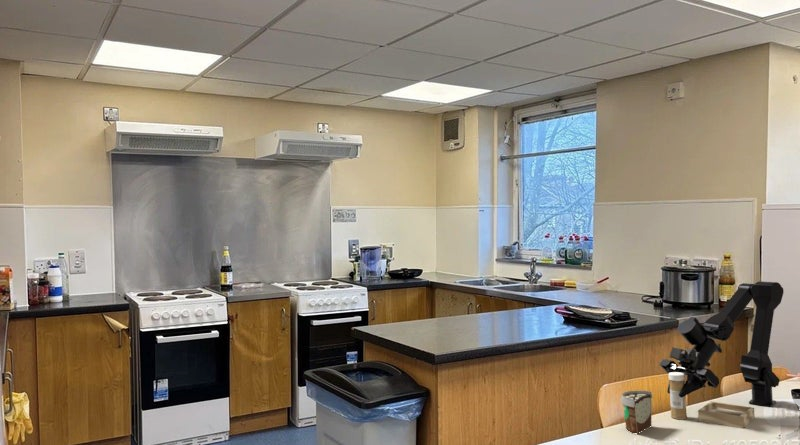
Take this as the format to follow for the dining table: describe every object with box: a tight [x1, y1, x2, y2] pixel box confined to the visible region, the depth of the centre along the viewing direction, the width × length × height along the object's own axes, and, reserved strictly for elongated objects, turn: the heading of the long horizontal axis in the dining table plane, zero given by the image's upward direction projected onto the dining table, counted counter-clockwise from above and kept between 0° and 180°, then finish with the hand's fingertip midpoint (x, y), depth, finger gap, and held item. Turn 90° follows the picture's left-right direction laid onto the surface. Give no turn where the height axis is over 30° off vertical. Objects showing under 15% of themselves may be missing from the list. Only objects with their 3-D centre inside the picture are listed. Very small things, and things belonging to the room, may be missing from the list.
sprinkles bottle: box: [668, 372, 688, 420], centre depth 185 cm, size 5×5×14 cm
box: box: [697, 401, 755, 429], centre depth 181 cm, size 12×12×3 cm
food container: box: [620, 390, 653, 435], centre depth 176 cm, size 12×6×10 cm, turn 135°
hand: (674, 394), depth 184 cm, fingers closed on sprinkles bottle, 4 cm apart
